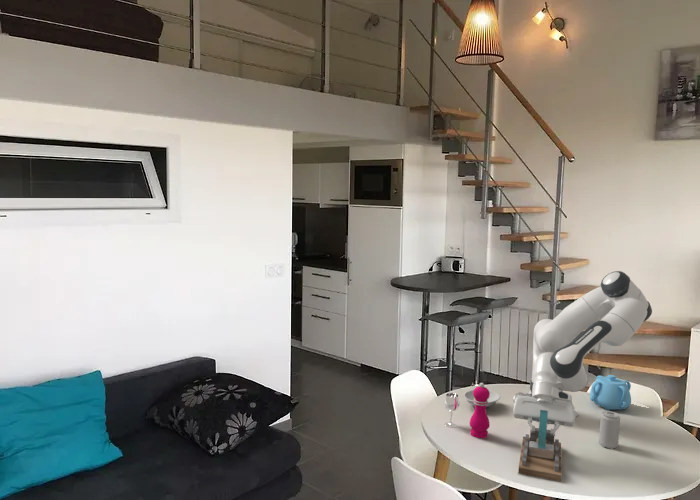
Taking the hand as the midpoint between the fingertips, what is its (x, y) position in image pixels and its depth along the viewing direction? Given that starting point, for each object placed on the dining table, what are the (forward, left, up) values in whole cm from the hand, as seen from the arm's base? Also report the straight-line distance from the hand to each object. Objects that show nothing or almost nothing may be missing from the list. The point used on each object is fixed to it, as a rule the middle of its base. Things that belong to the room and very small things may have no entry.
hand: (542, 433), depth 196 cm
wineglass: (+5, -38, -10) cm, 40 cm away
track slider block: (-1, 0, -8) cm, 8 cm away
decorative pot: (-70, -19, -10) cm, 74 cm away
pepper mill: (+2, -26, -10) cm, 28 cm away
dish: (-20, -46, -10) cm, 51 cm away
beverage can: (-33, +4, -10) cm, 34 cm away
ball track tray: (-1, -1, -10) cm, 10 cm away
